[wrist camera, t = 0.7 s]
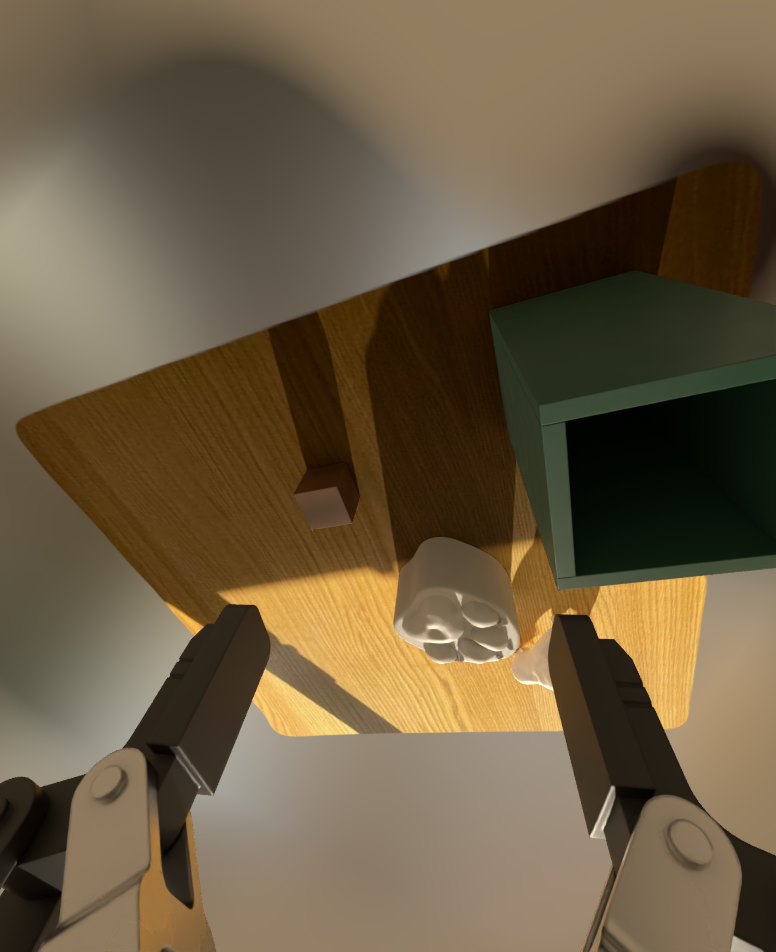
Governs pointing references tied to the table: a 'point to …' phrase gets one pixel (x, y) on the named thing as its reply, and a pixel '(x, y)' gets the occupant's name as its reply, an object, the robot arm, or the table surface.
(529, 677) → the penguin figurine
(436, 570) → the lumpy-topped squat cylinder
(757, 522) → the green box
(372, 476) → the table surface
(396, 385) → the table surface
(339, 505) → the block
